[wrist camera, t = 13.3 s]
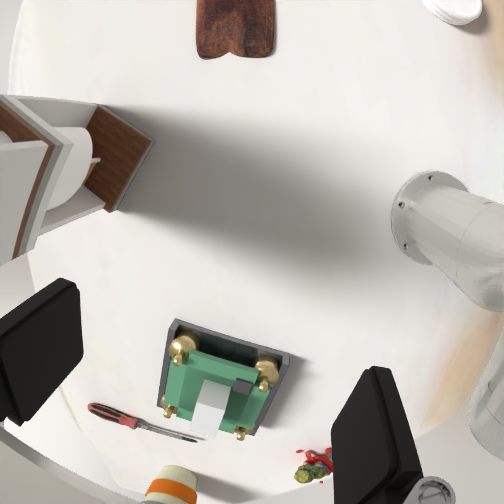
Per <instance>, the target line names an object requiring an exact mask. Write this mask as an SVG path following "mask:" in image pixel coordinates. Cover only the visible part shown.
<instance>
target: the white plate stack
mask: <svg viewBox="0 0 504 504" xmlns="http://www.w3.org/2000/svg"><path fill="white" fill-rule="evenodd" d="M421 1H422V2H423V4H424V5H425V6H426V7H427V9H428V10H429V11H430V12H432V13H433V14H434V15H435V16H436V17H438V18H439V19H441V20H443V21H445V22H447V23H450V24H453V25H465V24H468V23H469V22H471V21H473V20H474V19H476V18H478V17H479V15H480V14H481V12H482V0H421Z"/></svg>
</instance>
